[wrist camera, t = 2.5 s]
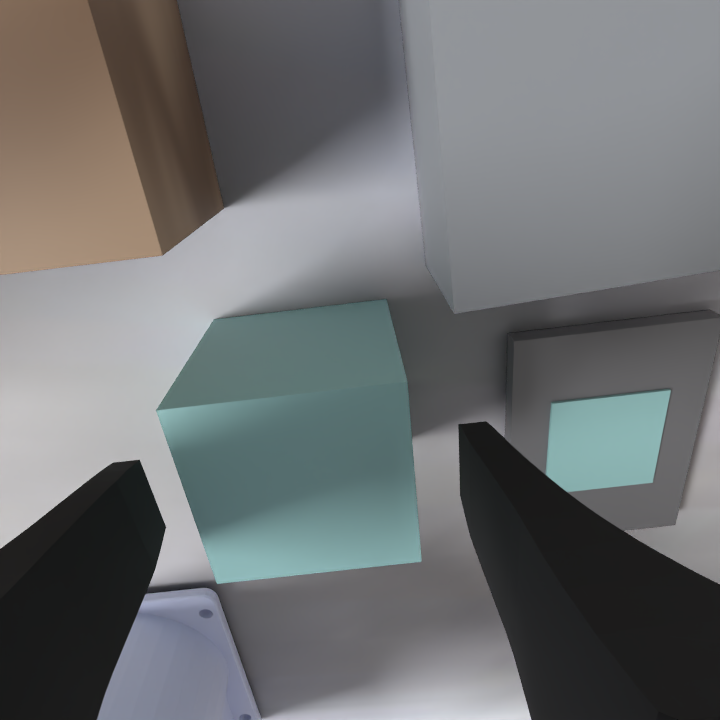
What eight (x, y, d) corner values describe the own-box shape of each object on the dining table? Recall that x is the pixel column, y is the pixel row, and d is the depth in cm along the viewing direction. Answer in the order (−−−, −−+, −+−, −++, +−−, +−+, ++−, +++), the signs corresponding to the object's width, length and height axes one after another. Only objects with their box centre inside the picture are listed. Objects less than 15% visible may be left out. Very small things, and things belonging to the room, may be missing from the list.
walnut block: (224, 207, 13) (162, 255, 8) (37, 230, 13) (-124, 289, 8) (171, -30, 11) (46, -139, 6) (-55, 0, 11) (-342, -87, 6)
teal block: (399, 439, 16) (421, 562, 12) (250, 456, 16) (216, 584, 12) (386, 298, 14) (407, 381, 10) (214, 318, 14) (156, 410, 10)
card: (665, 513, 18) (676, 526, 17) (502, 530, 18) (508, 545, 17) (710, 309, 14) (727, 318, 14) (507, 333, 15) (515, 342, 14)
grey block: (674, 221, 14) (795, 258, 10) (424, 263, 14) (454, 314, 10) (715, -108, 10) (912, -227, 7) (392, -46, 11) (418, -129, 7)
